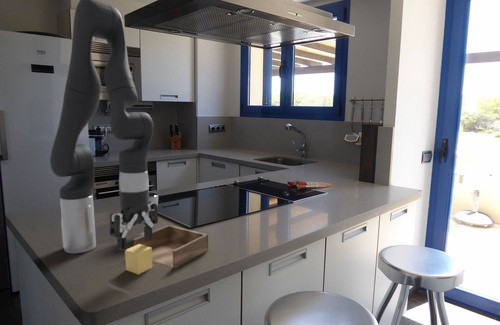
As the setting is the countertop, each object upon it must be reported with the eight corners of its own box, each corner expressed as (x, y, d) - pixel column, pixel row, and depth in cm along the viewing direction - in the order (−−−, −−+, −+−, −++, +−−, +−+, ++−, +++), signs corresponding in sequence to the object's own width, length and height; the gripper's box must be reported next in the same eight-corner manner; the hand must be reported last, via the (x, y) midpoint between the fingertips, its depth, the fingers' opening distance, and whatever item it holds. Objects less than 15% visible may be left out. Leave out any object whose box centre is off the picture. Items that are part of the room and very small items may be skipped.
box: (134, 256, 107) (133, 239, 106) (169, 240, 119) (169, 224, 118) (175, 270, 98) (174, 251, 97) (208, 251, 111) (208, 234, 110)
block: (126, 270, 97) (125, 249, 96) (140, 263, 101) (139, 243, 100) (138, 275, 95) (137, 254, 94) (152, 267, 99) (151, 247, 98)
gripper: (145, 180, 102) (146, 233, 104) (101, 190, 90) (104, 250, 93) (163, 184, 98) (164, 239, 101) (120, 195, 86) (122, 257, 89)
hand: (135, 244), depth 97 cm, fingers open, 8 cm apart
